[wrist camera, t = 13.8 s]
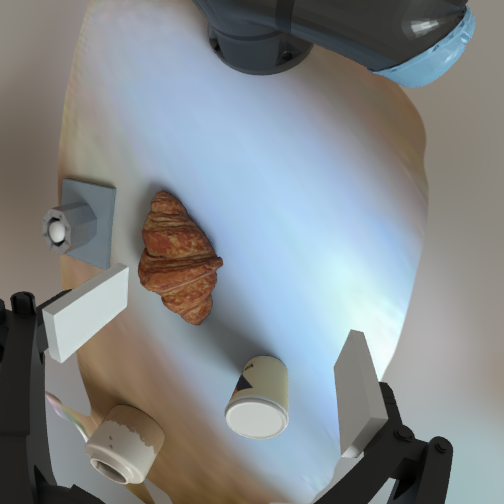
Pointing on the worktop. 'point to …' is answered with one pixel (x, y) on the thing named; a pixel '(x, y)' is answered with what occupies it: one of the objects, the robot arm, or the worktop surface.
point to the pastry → (178, 260)
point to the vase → (125, 445)
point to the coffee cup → (260, 399)
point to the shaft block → (103, 209)
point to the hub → (71, 226)
